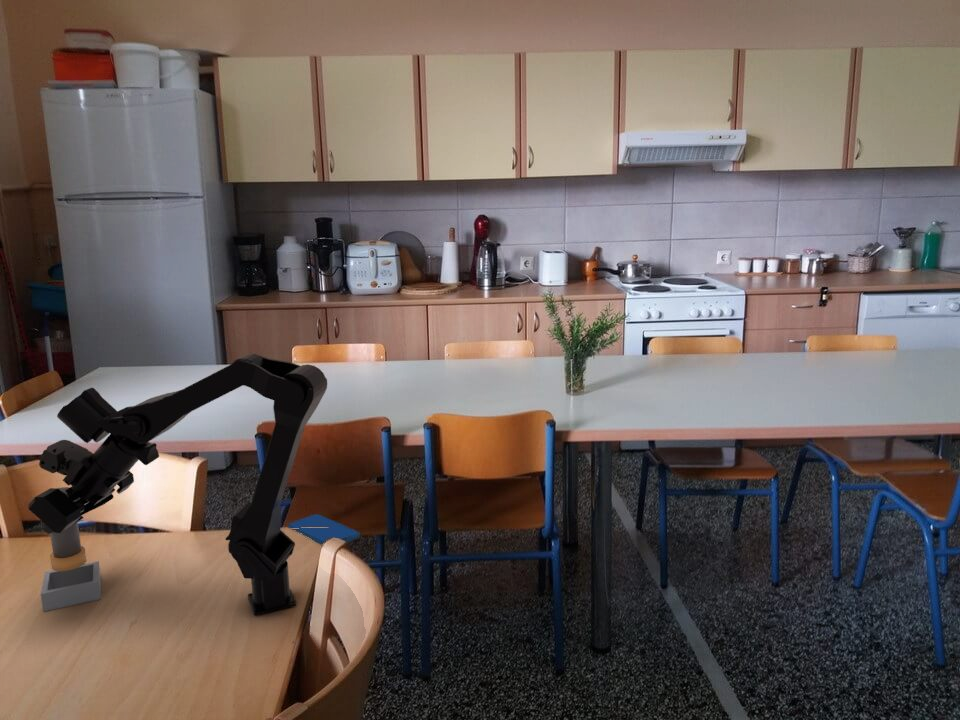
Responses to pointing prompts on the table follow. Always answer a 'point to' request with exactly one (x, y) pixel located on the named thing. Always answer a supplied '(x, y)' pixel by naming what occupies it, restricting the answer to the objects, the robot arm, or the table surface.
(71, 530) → the plug
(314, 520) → the smartphone
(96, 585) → the socket
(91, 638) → the table surface
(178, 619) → the table surface
